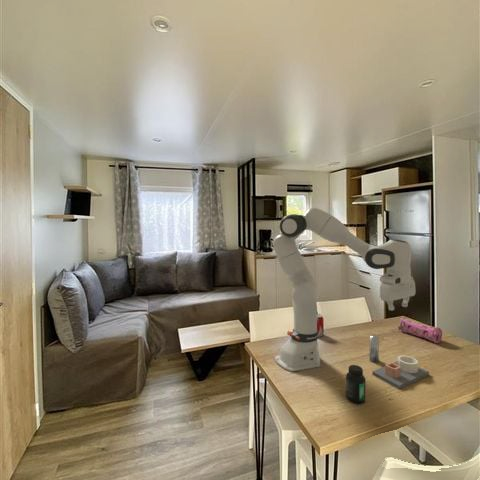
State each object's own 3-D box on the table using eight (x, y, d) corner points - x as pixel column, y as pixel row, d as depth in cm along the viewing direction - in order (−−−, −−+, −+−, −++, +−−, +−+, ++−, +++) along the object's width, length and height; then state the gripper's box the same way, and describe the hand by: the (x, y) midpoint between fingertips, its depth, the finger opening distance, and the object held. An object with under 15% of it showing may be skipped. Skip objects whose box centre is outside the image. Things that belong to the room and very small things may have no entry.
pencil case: (396, 332, 163) (396, 317, 162) (406, 329, 167) (406, 315, 167) (435, 346, 144) (435, 330, 143) (444, 342, 148) (445, 326, 147)
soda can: (324, 337, 156) (324, 317, 156) (311, 337, 158) (311, 317, 157) (323, 333, 163) (323, 313, 163) (311, 332, 165) (311, 313, 164)
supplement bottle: (367, 406, 97) (367, 374, 97) (346, 403, 99) (347, 371, 99) (363, 394, 104) (364, 364, 103) (344, 392, 106) (345, 362, 105)
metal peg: (375, 363, 127) (375, 338, 126) (367, 359, 130) (367, 335, 130) (380, 361, 129) (380, 337, 128) (373, 357, 132) (373, 334, 132)
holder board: (399, 389, 107) (399, 375, 107) (372, 374, 118) (372, 362, 117) (428, 375, 117) (429, 362, 116) (401, 362, 127) (401, 351, 127)
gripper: (405, 273, 124) (404, 303, 125) (377, 278, 114) (376, 310, 115) (420, 275, 118) (419, 306, 119) (391, 280, 109) (390, 314, 109)
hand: (398, 308), depth 117 cm, fingers open, 8 cm apart
